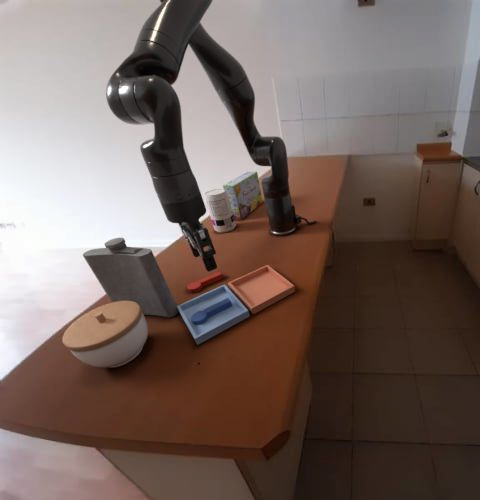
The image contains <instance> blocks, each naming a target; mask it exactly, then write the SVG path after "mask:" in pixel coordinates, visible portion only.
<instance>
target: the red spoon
mask: <svg viewBox="0 0 480 500" xmlns="http://www.w3.org/2000/svg"><path fill="white" fill-rule="evenodd" d="M222 279H224V276H223V273H222V272H221V271H217V272H214V273H212V274H210V275H208V276H205V277H203V278H201V279H198V281H197V280H196V281H192V282H190V283H189V284H188V285H187V291H188V293H191V294H194V293H198V292H199V291H202V289H203V288H205V287H206V286H209V285H211V284H213V283H215V282H218V281H221V280H222Z"/></svg>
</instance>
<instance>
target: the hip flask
mask: <svg viewBox="0 0 480 500" xmlns="http://www.w3.org/2000/svg"><path fill="white" fill-rule="evenodd" d="M82 257H83V258H84V260H85V261H86V263H87V265H88V267H89V268H90V270H91V271H92V273H93V275H94V276H95V278H96V279H97V281H98V283H99V284H100V286H101V288H102V289H103V291H104V293H105V294H106V295H107V297H108V299H109V300H110V303H112V302H117V301H133V302H136V303H138V304H139V306H140V307H141V309H142V313H143V315H144V316H146V315H147V316H159V317H164V318H173V317H175V316H177V315H178V314H179V313H180V312H179V310H178V308H177V306H178V305H177V303H176V300H175V298H174V296H173V294H172V291H171V289H170V287H169V285H168V282H167V281H166V278H165V277H164V274H163V273H162V272H163V271H162V270H161V268H160V265H159V263H158V261H157V260H156V257H155V255H154V252H153V250H152V249H151V248H146V247H136V246H134V247H133V246H127V244H126V240H125V238H124V237H114V238H112V239H109V240H107V241H105V242H104V247H98V248H93V249H89V250H87V251H85V252H84V253H82Z"/></svg>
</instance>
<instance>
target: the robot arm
mask: <svg viewBox="0 0 480 500" xmlns="http://www.w3.org/2000/svg"><path fill="white" fill-rule="evenodd" d="M159 2H160V4H159V5H158V6H157V8H155V10H154V11H153V12H152V13H151V14H150V15H149V16H148V18H147V19H146V20H145V22H144V23H143V25H142V27H141V28H140V31H139V33H138V36H137V39H136V41H135V44H134V47H133V50H132V52H131V53H129V55H128V56H127V57H125V59H123V61H122V62H121V64H120V65H118V67H117V68H116V69H115V70H114V72H113V73H112V74H111V76H110V77H109V79H108V81H107V84H106V89H105V96H106V97H105V98H106V102H107V106H108V107H109V109H110V111H111V113H112V114H113V116H115V117H116V118H117V119H118V120H120V121H121V122H123V123H125V124H128V125H131V126H132V125H133V126H142V125H143V126H144V125H153V128H154V135H153V138H150V139H147V140H144V141H143V142H142V143H141V144H140V146H139V149H140V154H141V156H142V158H143V161H144V164H145V166H146V168H147V170H148V173H149V176H150V178H151V182H152V185H153V188H154V191H155V194H156V197H157V198H158V200H159V203H160V205H161V208H162V210H163V212H164V216H165V217H166V220H167V221H168V222H170V223H173V224H178V226H179V229H180V231H181V234H182V238H184V239H185V242H186V243H187V244H188V246H189V249H190V251H191V253H192V255H193V257H194V258H198V257H200V258H201V260H202V263H203V265H204V268H205V270H206V271H207V272H212V271H214V270H216V269H217V268H218V265H217V262H216V259H215V255H217V251H216V249H215V246H214V243H213V240H212V238H211V236H210V233H209V230H208V228H207V227H205V225H204V223H201V222H200V219H201V217H204V216H205V214H207V208H206V207H207V206H206V205H205V204H206V203H205V200H204V198H203V195H202V193H201V190H200V186H199V184H198V181H197V179H196V176H195V174H194V172H193V170H192V168H191V165H190V162H189V159H188V156H187V153H186V150H185V145H184V136H183V135H184V134H183V133H184V132H183V121H182V120H183V119H182V118H183V117H182V109H181V108H182V105H181V103H180V102H181V101H180V98H179V96H178V94H177V92H176V90H175V88H174V87H173V85H175V83H176V82H177V80H178V78H179V76H180V72H181V68H182V65H183V62H184V60H185V59H184V58H185V55H186V52H187V49H188V46H189V47H190V48H191V51H192V52H193V54H194V55H195V58H196V59H197V60H198V62H199V64H200V66H201V67H202V69H203V71H204V72H205V74H206V76H207V78H208V80H209V82H210V83H211V85H212V87H213V90H214V91H215V92H216V94H217V96H218V98H219V100H220V101H221V103H222V105H223V106H224V108H225V110H226V111H227V113H228V115H229V117H230V118H231V121H232V123H233V124H234V126H235V128H236V130H237V131H238V133H239V136H240V138H241V140H242V142H243V145H244V147H245V149H246V151H247V153H248V155H249V157H250V159H251V160H252V162H253V163H254V164H255V165H257V166H260V167H270V171H271V173H270V174H269V175H266V176H264V177H262V178H261V180H260V184H261V188H262V189H261V190H262V193H263V194H262V195H263V199H264V203H265V208H266V213H267V219H268V225H269V229H270V234H272V235H274V236H287V235H290V234H292V233H294V232H296V230H297V229H298V228H299V226H298V225H299V224H302V222H303V221H305V222H306V223H307V225H313V224H316V223H317V220H313V221H311V222H310V221H309V220H308V219H307V218H305V217H303V216H301V215H300V214H297V213H296V207H295V204H294V203H292V197H291V196H292V195H291V190H290V189H291V188H290V184H289V183H290V182H289V176H290V175H289V173H290V172H289V164H288V154H287V153H288V152H287V147H286V144H285V141H284V140H283V138H282V137H280V136H277V135H276V136H275V135H274V136H272V135H271V136H262V135H261V134H260V132H259V130H258V128H257V125H256V123H255V107H256V95H255V91H254V88H253V85H252V83H251V82H250V79H249V77H248V75H247V73H246V70H245V69H244V67H243V65H242V63H240V61H239V60H237V59H236V57H235V56H234V55H232V54H231V53H230V52H229V51H228V50H226V49H225V48H224V47H223V46H222V45H220V43H218V42H217V41H216V40H215V39H214V38H213V37H212V36H211V35H210V33H208V32H207V30H206V29H205V27H204V26H203V24H202V22H201V21H202V20H203V17H204V16H205V14H206V12H207V11H208V9H209V8H210V7H211V5H212V3H213V2H214V0H159ZM204 248H207V249H204Z"/></svg>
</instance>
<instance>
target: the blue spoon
mask: <svg viewBox="0 0 480 500" xmlns="http://www.w3.org/2000/svg"><path fill="white" fill-rule="evenodd" d="M231 306H232V303H231V301H230V300H229V298H226V299H224V300H222V301H220V302H218V303H216V304H214V305H212V306H210V307H208V308H206V309H204V311H203V310H202V311H198V312H196V313H194V314H193V315H192V316H191V320H192V323H193V324H194V325H200V324H203V323H205V322H206V321H207V320H208V318H210V317H212V316H214V315H215V314H217V313H219V312H221V311H223V310H225V309H227V308H229V307H231Z"/></svg>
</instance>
